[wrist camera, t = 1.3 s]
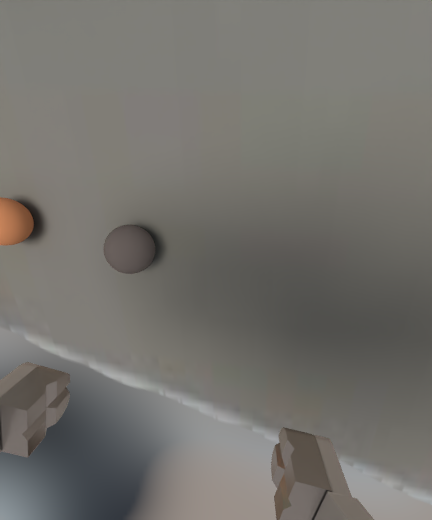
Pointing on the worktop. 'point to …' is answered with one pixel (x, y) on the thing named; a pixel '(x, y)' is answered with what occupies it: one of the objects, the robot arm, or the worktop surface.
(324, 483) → the robot arm
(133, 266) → the dark gray ball
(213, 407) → the worktop surface
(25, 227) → the object ball
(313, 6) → the worktop surface
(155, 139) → the worktop surface
